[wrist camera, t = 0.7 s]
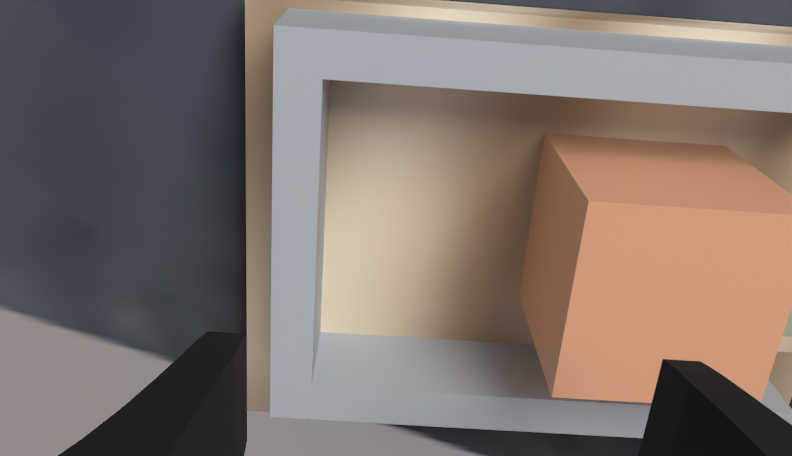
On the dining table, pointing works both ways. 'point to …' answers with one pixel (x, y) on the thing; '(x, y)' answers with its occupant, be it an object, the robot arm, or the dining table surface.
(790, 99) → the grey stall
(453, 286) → the birch deck
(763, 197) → the terracotta block
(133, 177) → the dining table surface
